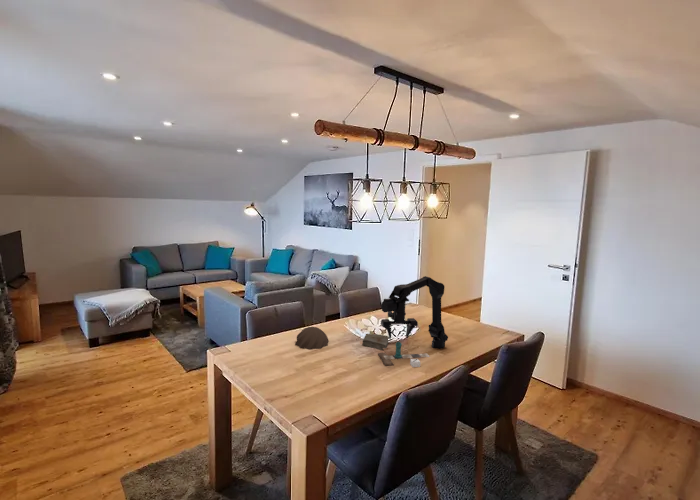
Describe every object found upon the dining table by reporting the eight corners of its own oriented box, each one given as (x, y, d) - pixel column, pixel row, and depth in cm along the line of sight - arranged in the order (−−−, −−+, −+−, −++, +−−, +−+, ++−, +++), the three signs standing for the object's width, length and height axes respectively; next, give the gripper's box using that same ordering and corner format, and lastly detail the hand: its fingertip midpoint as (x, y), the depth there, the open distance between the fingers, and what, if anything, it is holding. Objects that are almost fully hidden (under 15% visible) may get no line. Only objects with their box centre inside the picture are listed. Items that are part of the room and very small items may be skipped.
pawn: (400, 355, 202) (400, 340, 201) (402, 358, 199) (403, 342, 197) (393, 355, 201) (394, 340, 200) (395, 358, 198) (396, 343, 197)
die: (417, 366, 193) (417, 358, 192) (420, 369, 189) (420, 361, 188) (409, 366, 192) (410, 358, 192) (412, 370, 188) (412, 362, 188)
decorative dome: (303, 352, 207) (303, 335, 206) (290, 340, 224) (290, 324, 223) (334, 346, 217) (334, 329, 215) (319, 335, 234) (320, 319, 232)
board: (426, 352, 211) (426, 349, 210) (436, 362, 197) (436, 360, 197) (378, 354, 205) (378, 352, 205) (385, 366, 192) (385, 363, 192)
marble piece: (386, 351, 211) (386, 344, 210) (360, 348, 214) (360, 341, 214) (390, 340, 227) (390, 334, 226) (366, 338, 230) (366, 331, 230)
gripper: (411, 305, 206) (410, 332, 208) (378, 306, 203) (377, 333, 205) (418, 311, 195) (417, 339, 197) (384, 312, 192) (382, 341, 194)
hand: (398, 338), depth 199 cm, fingers open, 9 cm apart
